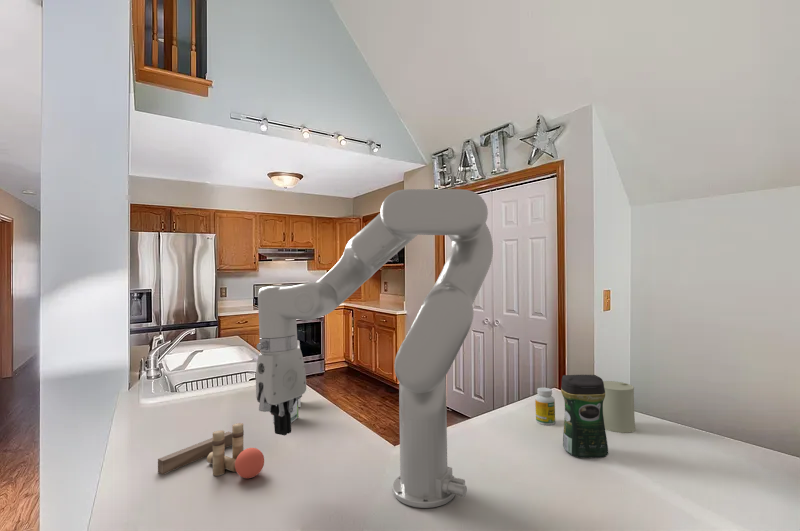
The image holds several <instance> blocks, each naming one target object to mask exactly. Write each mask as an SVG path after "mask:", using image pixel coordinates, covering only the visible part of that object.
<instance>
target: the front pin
mask: <svg viewBox="0 0 800 531" xmlns="http://www.w3.org/2000/svg"><path fill="white" fill-rule="evenodd" d="M206 461H207V463H209V464H211V465H213V452H211V453H210V454H209V455H208V456H206ZM235 462H236V459H233V458H232V457H231V456H227V455H225V470H227V471H231V472H233V473H237V472H236V469H235Z"/></svg>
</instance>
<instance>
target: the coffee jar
mask: <svg viewBox="0 0 800 531" xmlns="http://www.w3.org/2000/svg"><path fill="white" fill-rule="evenodd" d="M603 381H604V380H603V378H601V377H600V376H598V375H597V374H563V375H562V378H561V388H560V390H561V394H562V397H563V400H564V421H563V433H562V434H563V436H562V447H563V449H564V451H565V452H566V453H567V454H568V455H570V456H573V457H575V458H579V459H580V458H581V459H601V458H603V459H604V458H605V457H607V456H608V455H609V445H608V439H607V432H606V429H605V425H604V417H603V401H604V398H605V388H604V383H603Z"/></svg>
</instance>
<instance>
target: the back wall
mask: <svg viewBox="0 0 800 531" xmlns="http://www.w3.org/2000/svg"><path fill="white" fill-rule="evenodd" d="M224 438H225V449H227V448H228V447H230V446H231V447H232V431H225V432H224ZM212 440H213V437H211V438H209V439H205V440H203V441H201V442H198V443H196V444H193V445H190V446H187V447H184V448H183V449H180V450H178V451H175V452H172V453H170V454H167V455H165V456H162V457H160V458H157V473H158V474H160V475H165V474H168V473H170V472H172V471H174V470H177V469H179V468H182V467H184V466H186V465H188V464H189V465H190V464H191V463H194V462H196V461H198V460H200V459H203V458H205V457H208V455H209V454H210V453H211V452H213V445H212Z"/></svg>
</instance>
